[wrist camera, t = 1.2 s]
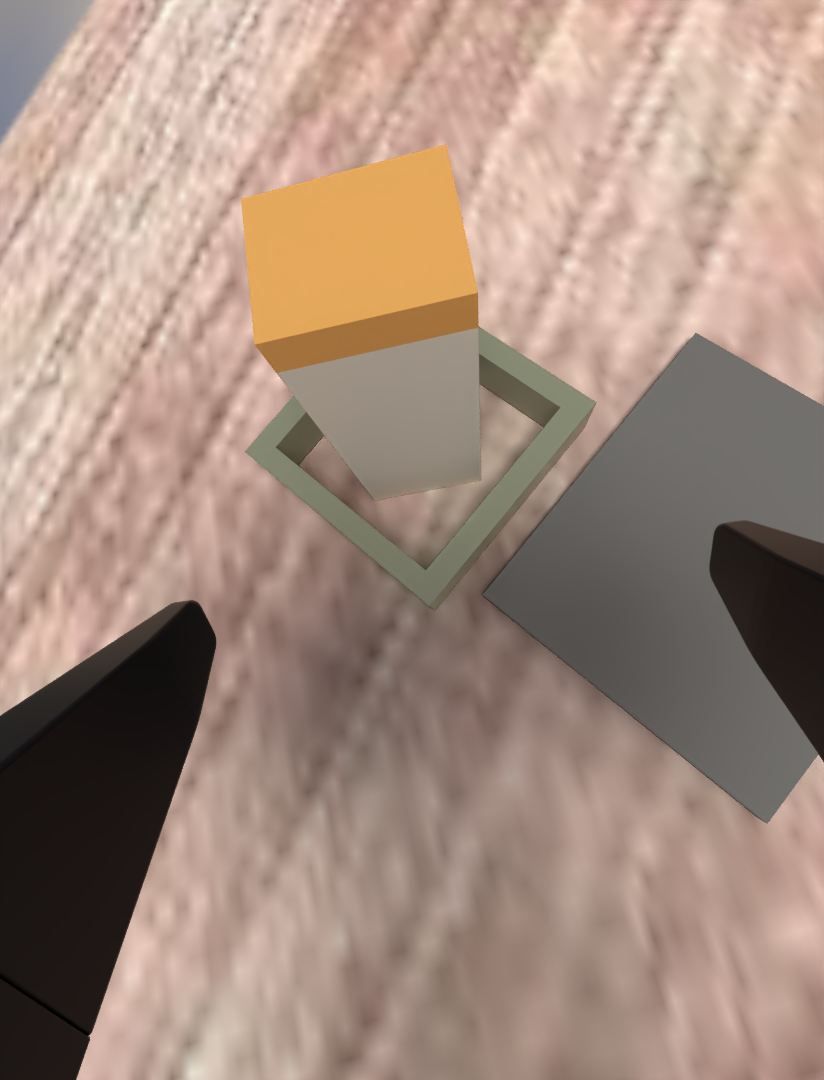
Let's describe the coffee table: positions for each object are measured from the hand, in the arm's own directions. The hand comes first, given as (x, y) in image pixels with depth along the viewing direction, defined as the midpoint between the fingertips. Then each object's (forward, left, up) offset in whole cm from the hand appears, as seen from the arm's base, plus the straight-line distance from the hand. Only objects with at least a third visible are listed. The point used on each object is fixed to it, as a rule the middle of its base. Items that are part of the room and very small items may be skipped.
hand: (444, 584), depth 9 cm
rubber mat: (+9, -6, -13) cm, 17 cm away
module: (+5, +7, -13) cm, 15 cm away
